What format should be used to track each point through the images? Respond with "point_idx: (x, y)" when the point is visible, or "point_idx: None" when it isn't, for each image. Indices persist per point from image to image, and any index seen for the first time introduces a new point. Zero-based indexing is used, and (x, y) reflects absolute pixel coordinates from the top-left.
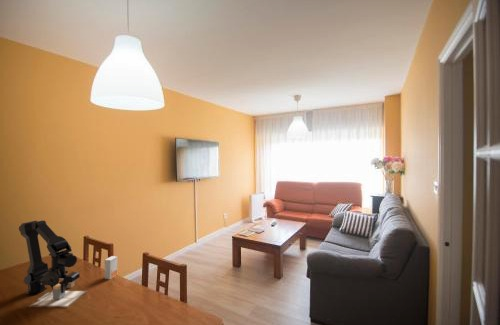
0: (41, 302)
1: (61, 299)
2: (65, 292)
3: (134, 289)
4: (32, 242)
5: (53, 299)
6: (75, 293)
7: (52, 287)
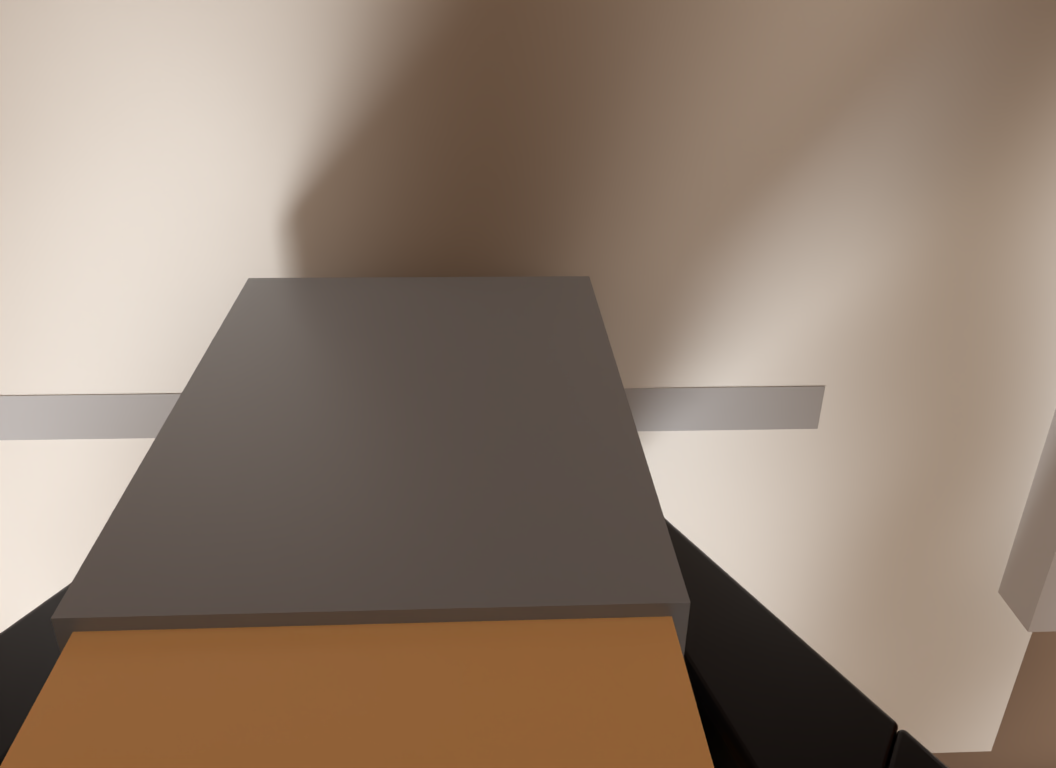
0: (994, 58)
1: None
2: None
3: None
4: None
5: (600, 298)
6: None
7: (838, 760)
